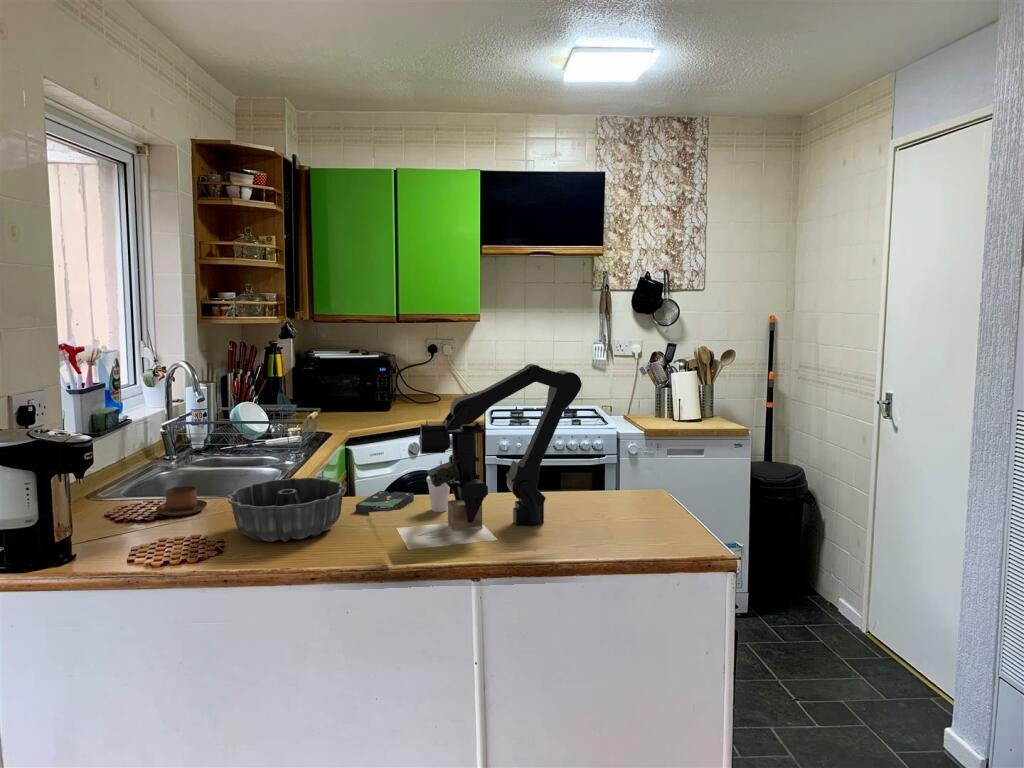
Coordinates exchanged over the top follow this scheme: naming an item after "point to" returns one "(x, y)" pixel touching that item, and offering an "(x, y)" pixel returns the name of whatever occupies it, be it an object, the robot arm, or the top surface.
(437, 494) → the smoothie
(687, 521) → the top surface
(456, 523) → the block
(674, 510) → the top surface
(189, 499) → the cup and saucer
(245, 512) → the bundt pan
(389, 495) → the disk drive
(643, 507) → the top surface
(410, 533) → the birch board
